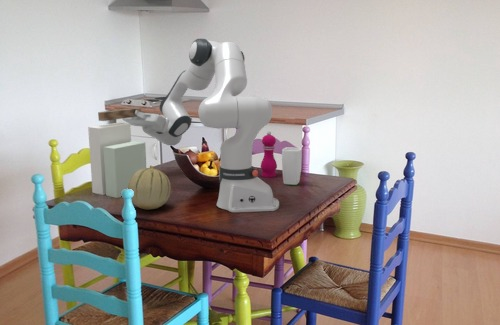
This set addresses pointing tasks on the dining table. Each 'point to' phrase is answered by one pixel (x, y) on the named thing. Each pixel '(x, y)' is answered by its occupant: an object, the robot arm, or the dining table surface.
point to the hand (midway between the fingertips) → (131, 111)
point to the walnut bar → (117, 114)
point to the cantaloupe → (149, 188)
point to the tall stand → (97, 141)
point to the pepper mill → (268, 156)
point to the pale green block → (122, 165)
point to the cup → (291, 165)
